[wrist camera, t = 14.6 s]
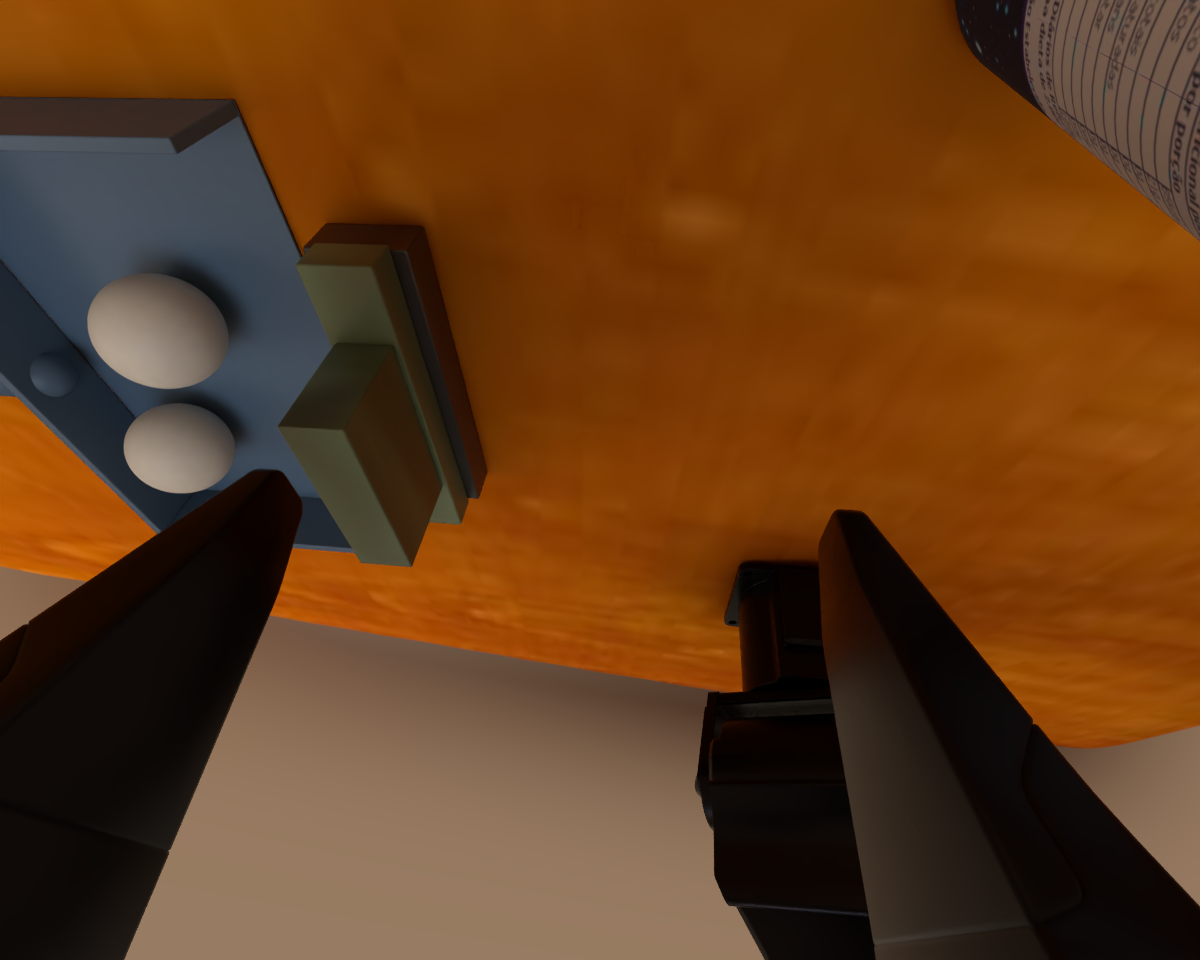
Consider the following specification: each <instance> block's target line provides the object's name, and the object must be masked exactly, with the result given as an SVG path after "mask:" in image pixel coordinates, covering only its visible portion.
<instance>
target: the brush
mask: <svg viewBox="0 0 1200 960" xmlns="http://www.w3.org/2000/svg"><path fill="white" fill-rule="evenodd" d="M303 249H304V252H305V254H304V256H303V257H302V258H301V259H300V260H299V261H298V262H297V263H296V269H297V271H298V273H299V275H300V277H301V280H302V282H303V284H304V286H305V288H306V291H307V293H308V295H309V297H310V299H311V302H312V304H313V306H314V308H315V310H316V313H317V315H318V317H319V319H320V321H321V324H322V326H323V328H324V330H325V333H326V335H327V337H328V339H329V341H330V344H331V346H332V348H331V350H330V351H329V353H328V354H327V356H326V357H325V359H324V360H323V361H322V363H321V364H320V366H319V367H318V369H317V370H316V371H315V373H314V374H313V376H312V377H311V379H310V380H309V381H308V383H307V384H306V386H305V387H304V389H303V390H302V391H301V393H300V394H299V396H298V397H297V399H296V400H295V401H294V403H293V404H292V406H291V407H290V409H289V410H288V412H287V413H286V414H285V416H284V417H283V419H282V420H281V422H280V423H279V424H278V426H277V427H278V429H279V431H280V433H281V434H282V436H283V437H284V439H285V441H286V442H287V444H288V446H289V447H290V449H291V450H292V452H293V454H294V455H295V457H296V458H297V460H298V462H299V463H300V465H301V467H302V468H303V470H304V471H305V473H306V475H307V476H308V478H309V479H310V481H311V483H312V484H313V486H314V488H315V489H316V491H317V492H318V494H319V496H320V497H321V499H322V500H323V502H324V504H325V505H326V507H327V509H328V510H329V512H330V513H331V515H332V517H333V518H334V520H335V522H336V523H337V525H338V526H339V528H340V530H341V531H342V533H343V534H344V536H345V538H346V539H347V541H348V543H349V544H350V546H351V547H352V549H353V551H354V552H355V554H356V555H357V557H358V559H359V560H360V562H361V563H369V564H382V565H394V566H406V567H412V565H413V562H414V560H415V557H416V555H417V552H418V549H419V547H420V544H421V541H422V539H423V536H424V534H425V531H426V528H427V526H428V523H429V522H434V523H447V524H461V523H462V520H463V517H464V514H465V511H466V508H467V505H468V502H469V501H468V498H476V499H478V498H479V496H480V493H481V490H482V487H483V484H484V481H485V478H486V475H487V470H486V466H485V462H484V458H483V454H482V450H481V446H480V443H479V439H478V435H477V431H476V427H475V423H474V419H473V416H472V412H471V408H470V404H469V400H468V396H467V393H466V389H465V385H464V381H463V377H462V373H461V369H460V366H459V362H458V358H457V354H456V350H455V346H454V342H453V339H452V335H451V331H450V327H449V323H448V319H447V315H446V312H445V308H444V304H443V300H442V296H441V292H440V289H439V285H438V281H437V277H436V273H435V269H434V265H433V262H432V258H431V254H430V250H429V246H428V242H427V238H426V235H425V231H424V227H422V226H391V225H352V224H325V225H324V226H323V227H322V228H321V229H320V230H319V231H318V232H317V233H316V234H315V235H314V237H313V238H312V239H311V240H310V241H309V242H308V243H307V244H306V245H305V246H304V248H303Z"/></svg>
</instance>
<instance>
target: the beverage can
mask: <svg viewBox="0 0 1200 960" xmlns="http://www.w3.org/2000/svg"><path fill="white" fill-rule="evenodd" d="M955 4H956V12H957V17H958V22H959V25H960V29H961V32H962V34H963V37H964V39H965V41H966V43H967V45H968V47H969V48H970V50H971V51H972V53H973V54H974V55H975V57H976V58H977V59H978V60H979V61H980V62H981V63H982V64H983V65H984V66H985V67H987V68H988V69H989V70H990V71H991V72H993V73H994V74H995V75H996V76H998V77H999V78H1000V79H1001V80H1002V81H1004V82H1005V83H1006V84H1007V85H1009V86H1010V87H1011V88H1012V89H1014V90H1015V91H1016V92H1017V93H1018V94H1020V95H1021V96H1022V97H1023V98H1025V99H1026V100H1027V101H1028V102H1030V103H1031V104H1032V105H1033V106H1034V107H1036V108H1037V109H1038V110H1039V111H1041V112H1042V113H1043V114H1044V115H1045V116H1047V117H1048V118H1049V119H1050V120H1052V121H1053V122H1054V123H1055V124H1057V125H1058V126H1059V127H1060V128H1061V129H1063V130H1064V131H1065V132H1066V133H1068V134H1069V135H1070V136H1071V137H1072V138H1074V139H1075V140H1076V141H1077V142H1079V143H1080V144H1081V145H1082V146H1084V147H1085V148H1086V149H1087V150H1088V151H1090V152H1091V153H1092V154H1093V155H1095V156H1096V157H1097V158H1098V159H1100V160H1101V161H1102V162H1103V163H1104V164H1106V165H1107V166H1108V167H1109V168H1111V169H1112V170H1113V171H1114V172H1115V173H1117V174H1118V175H1119V176H1120V177H1122V178H1123V179H1124V180H1125V181H1127V182H1128V183H1129V184H1130V185H1131V186H1133V187H1134V188H1135V189H1136V190H1138V191H1139V192H1140V193H1141V194H1142V195H1144V196H1145V197H1146V198H1147V199H1149V200H1150V201H1151V202H1152V203H1154V204H1155V205H1156V206H1157V207H1158V208H1160V209H1161V210H1162V211H1163V212H1165V213H1166V214H1167V215H1168V216H1169V217H1171V218H1172V219H1173V220H1174V221H1176V222H1177V223H1178V224H1179V225H1181V226H1182V227H1183V228H1184V229H1185V230H1187V231H1188V232H1189V233H1190V234H1192V235H1193V236H1194V237H1195V238H1197V239H1198V240H1199V241H1200V0H955Z"/></svg>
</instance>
